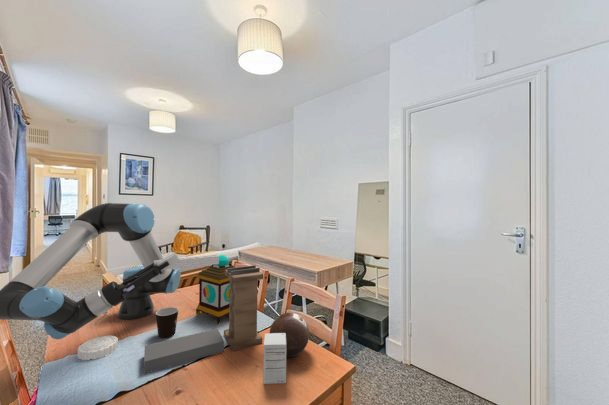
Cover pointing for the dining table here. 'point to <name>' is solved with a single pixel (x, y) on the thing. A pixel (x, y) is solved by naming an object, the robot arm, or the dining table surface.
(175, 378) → the dining table surface
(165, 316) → the coffee mug
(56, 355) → the dining table surface
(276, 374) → the supplement box
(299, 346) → the wooden sphere
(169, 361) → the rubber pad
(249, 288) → the pedestal
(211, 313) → the decorative lantern
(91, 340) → the mooncake
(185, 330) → the dining table surface
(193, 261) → the bar
